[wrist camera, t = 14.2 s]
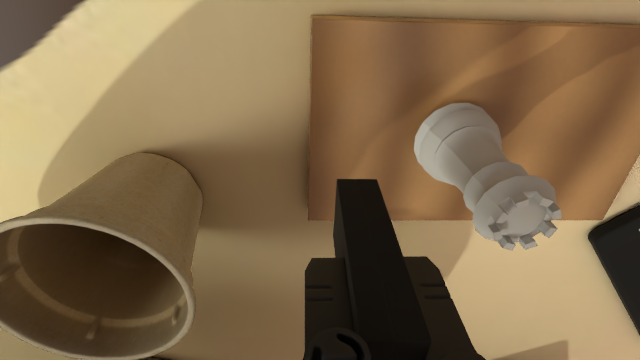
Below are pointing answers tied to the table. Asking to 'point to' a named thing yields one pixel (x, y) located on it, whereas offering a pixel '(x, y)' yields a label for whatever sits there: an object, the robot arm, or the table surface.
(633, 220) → the cell phone
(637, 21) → the table surface
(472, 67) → the board
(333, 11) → the table surface
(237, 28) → the table surface
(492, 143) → the rook chess piece
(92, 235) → the flower pot
